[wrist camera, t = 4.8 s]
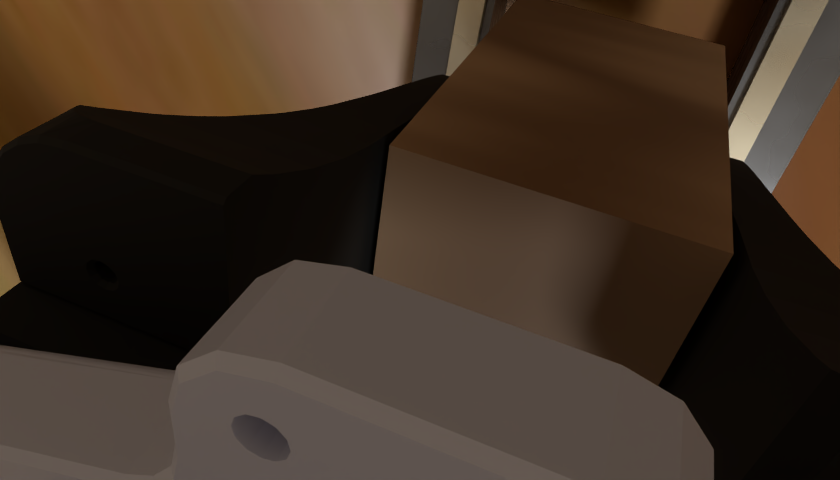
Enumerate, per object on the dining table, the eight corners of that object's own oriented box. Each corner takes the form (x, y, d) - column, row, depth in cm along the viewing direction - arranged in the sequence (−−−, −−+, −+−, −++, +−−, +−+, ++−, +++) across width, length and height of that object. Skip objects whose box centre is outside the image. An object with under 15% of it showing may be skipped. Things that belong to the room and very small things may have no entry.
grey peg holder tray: (380, 380, 26) (363, 411, 25) (475, -223, 14) (452, -223, 13) (600, 466, 24) (594, 504, 23) (931, -135, 12) (957, -124, 11)
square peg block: (482, 162, 16) (361, 366, 10) (522, -6, 13) (388, 144, 8) (649, 214, 15) (613, 464, 9) (725, 45, 12) (733, 254, 7)
